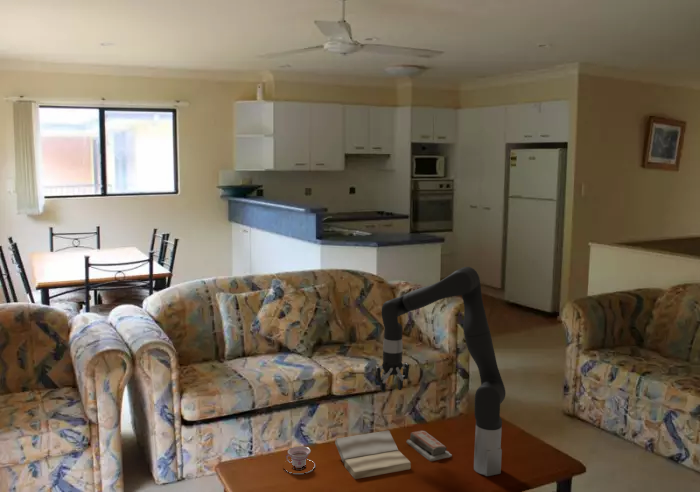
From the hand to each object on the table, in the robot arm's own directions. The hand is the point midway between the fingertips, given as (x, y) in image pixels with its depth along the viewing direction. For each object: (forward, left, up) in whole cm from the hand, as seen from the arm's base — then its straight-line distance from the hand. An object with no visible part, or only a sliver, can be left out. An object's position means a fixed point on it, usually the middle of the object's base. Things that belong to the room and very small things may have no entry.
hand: (391, 390), depth 263 cm
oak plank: (-17, +13, -22) cm, 31 cm away
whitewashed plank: (-6, +13, -19) cm, 24 cm away
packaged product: (-10, -12, -22) cm, 27 cm away
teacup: (-7, +40, -22) cm, 46 cm away
